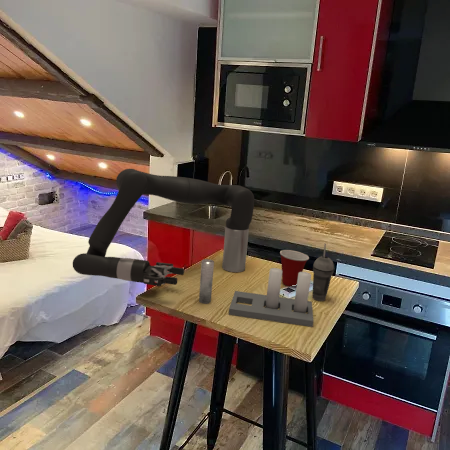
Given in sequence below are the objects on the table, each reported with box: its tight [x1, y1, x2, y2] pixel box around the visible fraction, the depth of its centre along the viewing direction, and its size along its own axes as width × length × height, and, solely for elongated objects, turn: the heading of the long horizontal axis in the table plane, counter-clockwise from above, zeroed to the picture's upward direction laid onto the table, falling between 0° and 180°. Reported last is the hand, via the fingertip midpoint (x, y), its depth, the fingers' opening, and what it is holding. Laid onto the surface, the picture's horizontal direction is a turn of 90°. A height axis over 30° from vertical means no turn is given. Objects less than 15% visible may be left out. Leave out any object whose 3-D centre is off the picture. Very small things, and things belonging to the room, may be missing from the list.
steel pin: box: [198, 258, 215, 305], centre depth 141 cm, size 4×4×14 cm
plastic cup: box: [279, 249, 310, 287], centre depth 161 cm, size 11×11×12 cm
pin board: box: [228, 267, 314, 328], centre depth 138 cm, size 14×26×14 cm, turn 81°
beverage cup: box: [312, 243, 335, 302], centre depth 149 cm, size 7×7×20 cm
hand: (180, 276), depth 142 cm, fingers open, 8 cm apart
